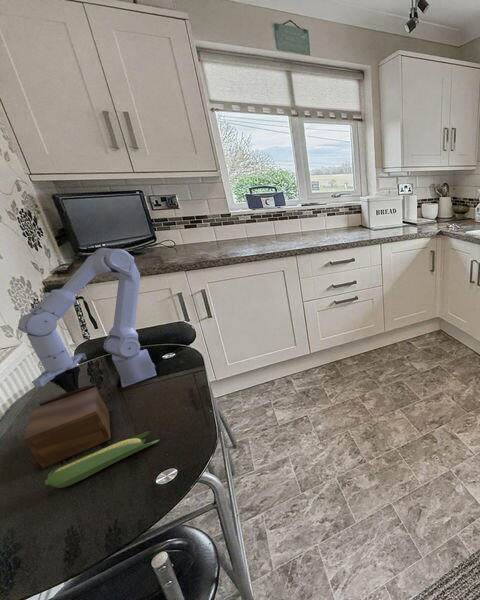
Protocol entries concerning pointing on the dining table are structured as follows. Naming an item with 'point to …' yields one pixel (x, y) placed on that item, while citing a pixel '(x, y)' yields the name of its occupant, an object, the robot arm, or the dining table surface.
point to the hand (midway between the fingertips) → (74, 392)
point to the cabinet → (67, 427)
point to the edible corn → (95, 461)
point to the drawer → (68, 394)
